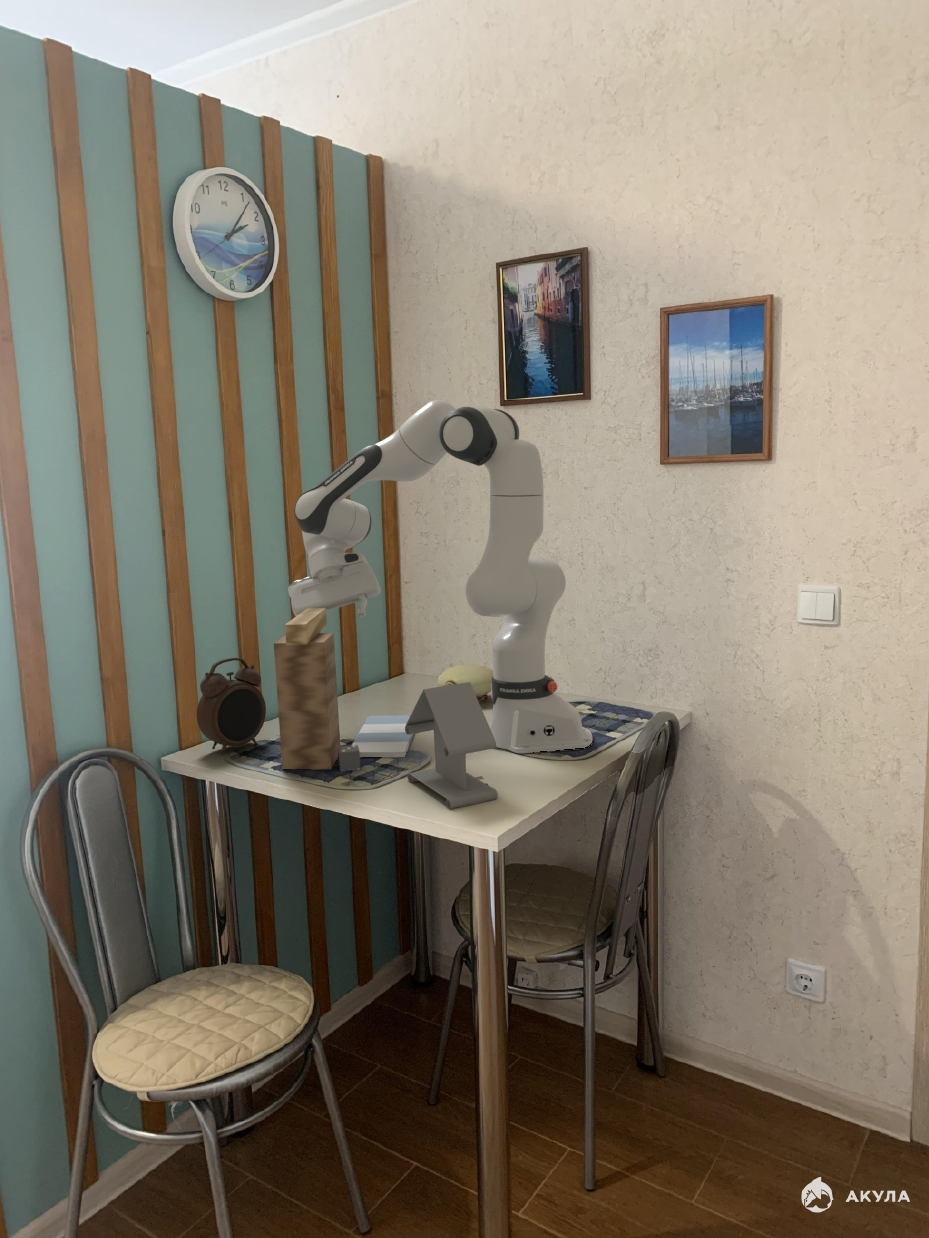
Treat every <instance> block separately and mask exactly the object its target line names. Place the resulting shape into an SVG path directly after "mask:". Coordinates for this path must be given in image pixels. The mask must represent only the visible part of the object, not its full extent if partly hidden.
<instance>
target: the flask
mask: <svg viewBox="0 0 929 1238" xmlns="http://www.w3.org/2000/svg"><path fill="white" fill-rule="evenodd" d="M492 677H493V668H490V667H487V666H484V665H479V664H475V663H464V664H459V665H455V666H451V667H449V668H447V669H446V670H445V671H443V672H442V673H441V674H440V675H439V676H438V679H437V687H442V686H448V685H454V684H461V683H467V682H470V683H471V686H472V688H473V690H474V693H475V695H476V697H477V699H478V697H481V696H482V697H481V698H479V699H478V702H479V703H480V702H482V701H484V700H486V699H485V698H487V699H488V698H489V697H488V696H489V695H488V694H489V693H491V681H492Z"/></svg>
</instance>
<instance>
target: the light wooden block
mask: <svg viewBox="0 0 929 1238" xmlns="http://www.w3.org/2000/svg"><path fill="white" fill-rule="evenodd" d="M327 621H328V620H327V611H326V608H310V609H306V610H305V611H303V612H302V613H301V614H299V615H298V616H295V617H293V618H292V619H291V620H290V621H288V622H286V623H285V624H284V631H285V634H284V635H286V645H307V644H308V643H309V642H310V641H311V640H312V639H313V638H314V637H316V636H317V635H318V634H319V633H322V632H323V631H324V630H325V629H326V628H327V627H328V622H327Z"/></svg>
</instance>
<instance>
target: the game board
mask: <svg viewBox="0 0 929 1238" xmlns="http://www.w3.org/2000/svg"><path fill="white" fill-rule="evenodd" d="M410 716H411V714H410V715H409V714H408V715H407V714H405V715H403V714H402V715H368V716H367V718H366V720H365V721H364V723H363V725H362V726H361V728H360V730H359V731H358V733H357V735H356V737H355V739H354V741H353V742H352V743H351V745H350V746H353V745H358V748H359V751H360V757H382V758H406V756H407V753H408V751H409V748H410V745H411V743H412V740H413V736H414V734H409V735H407V734H406V732H405V726H406V724H407V722H408V720H409V718H410ZM406 752H407V753H406ZM405 755H406V756H405Z"/></svg>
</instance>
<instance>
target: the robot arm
mask: <svg viewBox="0 0 929 1238" xmlns="http://www.w3.org/2000/svg"><path fill="white" fill-rule="evenodd" d="M447 454H448V455H450V456H452V457H454V458H455V459H458V460H460V461H463V462H466V463H469V464H471V465H475V466H479V467H480V466H483V465H484V466H485V468H486V469H487V471H488V474H489V485H490V488H489V489H490V490H489V493H490V495H489V497H490V498H489V530H488V535H487V541H486V545H485V548H484V551H483V554H482V556H481V559H480V561H479V564H478V565H477V567H476V568H475V570H474V571H473V572H472V573H471V574H470V575H469V577H468V579H467V581H466V583H465V598H466V601H467V603H468V606H469V607H470V608H471V610H472V611H473V612H474V613H475V614H477V615H479V616H482V617H490V618H491V617H492V618H503V617H504V622H503V625H502V627H501V629H500V630H499V632H498V633H497V634H496V635H495V637H494V639H493V640H492V670H493V677H492V681H491V692H490V695H491V703H492V715H491V716H492V717H491V723H490V729H491V732H492V734H493V736H494V739H495V741H496V748H499V749H504V750H509V751H510V752H513V753H516V754H530V753H532V754H533V752H534V753H541V752H540V751H547V752H557V751H556V750H560V751H565V750H564V749H573V750H576V749H575V748H584V749H586V748H585V747H587V746H589V745H590V744H591V743H592V741H594V740H593V734H592V732H591V731H590V729H588V728H586V727H584V726H583V723H582V718H581V715H580V713H579V711H578V710H577V708H576V707H575V706H574V705H573V704H571V703H569V701H567V700H566V699H564V698H563V697H561V696H560V695H559V694H557V693H556V692H557V690H558V683H557V682H556V681H555V679H553V677H552V676H551V675H550V676H548V675H546V674H545V673H546V671H545V670H546V669H545V668H546V666H545V665H546V664H545V663H546V661H545V660H546V659H545V658H546V657H545V656H546V653H545V652H546V638H547V632H548V627H549V625H550V620H551V617H552V614H553V612H554V608H555V607H556V605H557V604H558V601H559V600H560V599H561V598H562V597H563V595H564V592H565V589H566V576H565V573H564V571H563V569H562V568H561V566H560V565H559V564H558V563H556V562H555V561H553V560H550V559H544V558H537V557H532V558H530V555H531V551H532V549H533V548H534V545H535V543H536V542H537V541H538V540H539V539H540V537H541V536H542V534H543V532H544V495H545V494H544V476H543V474H544V473H543V468H542V460H541V455H540V452H539V449H538V448H537V446H536V445H534V444H533V443H532V442H529V441H527V440H523V439H520V429H519V424H518V423H517V421H516V420H515V418H514V417H513V416H512V415H511V414H509V412H506V411H505V410H501V409H497V408H489V407H487V406H461V407H459V408H456V407H455V406H453V405H452V404H450V403H449V402H447V401H445V400H441V399H433V400H431V401H428V403H426V404H424V405H423V406H421V408H419V409H418V410H416V411H415V412H414V413H413V414H412V415H411V416H409V418H408V419H406V421H404V423H403V424H401V425H400V426H399V428H398V429H396V431H394V432H393V433H392V434H391V435H389V436H387V437H386V438H384V439H382V440H381V441H378V442H376V443H374V444H371V445H368V446H365V447H364V448H361V449H360V450H359V451H358V452H356V453H355V454H354V455H352V456H351V457H350V458H349V459H347V460H345V462H344V463H342V464H341V465H340V466H339V467H337V468H336V469H335V470H334V471H332V473H330V474H329V475H328V476H327V477H326V478H325V479H323V480H321V481H320V482H319V483H317V484H316V485H314V486H311V487H310V488H308V489H306V490H305V491H304V492H303V493H302V494H300V495H299V497H298V498H297V500H296V502H295V505H294V518H295V520H296V524H297V525H298V527H299V528H300V530H301V533H302V534H301V535H302V536H301V537H302V541H303V546H304V549H305V552H306V553H307V556H308V558H307V562H308V564H307V565H308V567H309V572H310V576H307V577H303V578H301V579H296V580H294V581H292V583H291V584H289V585H288V587H287V592H288V593H287V594H288V597H289V598H290V600H291V603H290V604H291V610H292V613H293V615H294V616H295V617H296V616H298V615H299V614H301V613H302V612H303V611H305V610H306V609H310V608H326V612H329V611H331V610H335V609H338V608H342V607H344V606H348V605H352V604H355V603H357V602H360V606H359V607H357V608H356V610H357V615H358V617H359V618H364V617H367V614H366V608H367V606H368V599H371V598H374V597H378V596H379V595H380V594H381V592H382V591H381V590H382V589H381V587H380V584H379V581H378V579H377V576H376V575H375V572H374V570H373V568H372V567H371V566H370V564H369V562H368V559H367V558H366V557H365V555H364V554H363V553H361V552H346V550H350V549H352V548H354V547H356V546H357V545H359V544H360V543H361V542H363V541H364V540H365V539H366V538H367V537H368V536H369V535H370V533H371V530H372V524H373V523H372V514H371V512H370V510H369V508H368V507H367V506H366V505H363V504H361V503H359V502H357V501H353V500H351V499H347V498H346V497H348V496H349V495H350V494H352V493H353V492H354V491H355V490H356V489H358V488H359V487H360V486H362V485H364V484H366V483H369V482H374V481H394V482H413V481H417V480H419V479H421V478H422V477H424V476H425V475H427V474H428V473H429V472H431V470H433V468H434V467H435V466H436V465H437V464H438V463H439V462H440V461H441V460H442V458H443V457H444V456H446V455H447ZM443 459H444V458H443ZM592 744H593V743H592ZM592 744H591V745H592ZM589 747H590V746H589Z"/></svg>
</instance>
